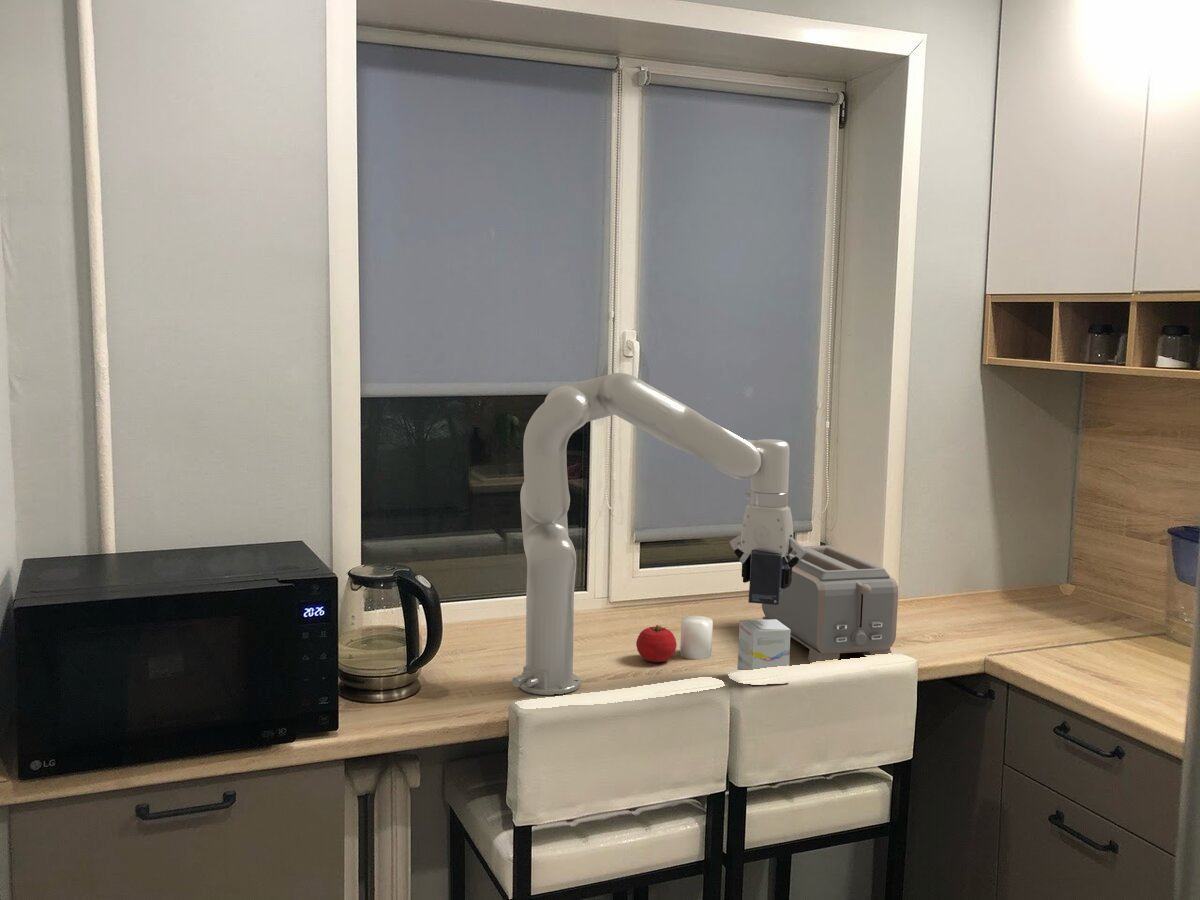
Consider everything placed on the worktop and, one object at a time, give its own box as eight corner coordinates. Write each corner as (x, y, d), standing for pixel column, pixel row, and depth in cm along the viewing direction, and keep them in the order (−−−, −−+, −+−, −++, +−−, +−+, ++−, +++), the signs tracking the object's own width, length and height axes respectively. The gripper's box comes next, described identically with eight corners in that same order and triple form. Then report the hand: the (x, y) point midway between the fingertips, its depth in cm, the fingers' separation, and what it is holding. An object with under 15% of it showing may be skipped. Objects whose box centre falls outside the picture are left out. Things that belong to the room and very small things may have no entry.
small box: (780, 606, 203) (782, 554, 202) (747, 603, 204) (749, 552, 203) (783, 593, 213) (784, 544, 212) (751, 591, 215) (753, 542, 213)
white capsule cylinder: (702, 661, 221) (703, 626, 220) (674, 655, 225) (675, 620, 224) (717, 653, 227) (718, 619, 226) (689, 648, 231) (690, 613, 230)
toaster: (823, 672, 216) (828, 578, 214) (757, 627, 250) (760, 545, 248) (904, 666, 221) (909, 574, 219) (828, 622, 255) (832, 543, 253)
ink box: (789, 684, 207) (792, 628, 206) (750, 686, 206) (752, 630, 204) (774, 671, 216) (776, 617, 214) (736, 673, 214) (738, 618, 213)
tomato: (656, 651, 228) (657, 617, 227) (684, 661, 221) (685, 625, 220) (627, 659, 222) (628, 623, 221) (655, 669, 215) (656, 632, 214)
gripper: (722, 498, 208) (719, 581, 210) (802, 506, 199) (798, 594, 201) (738, 493, 215) (736, 575, 216) (816, 502, 205) (813, 587, 207)
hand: (766, 583), depth 208 cm, fingers closed on small box, 7 cm apart
